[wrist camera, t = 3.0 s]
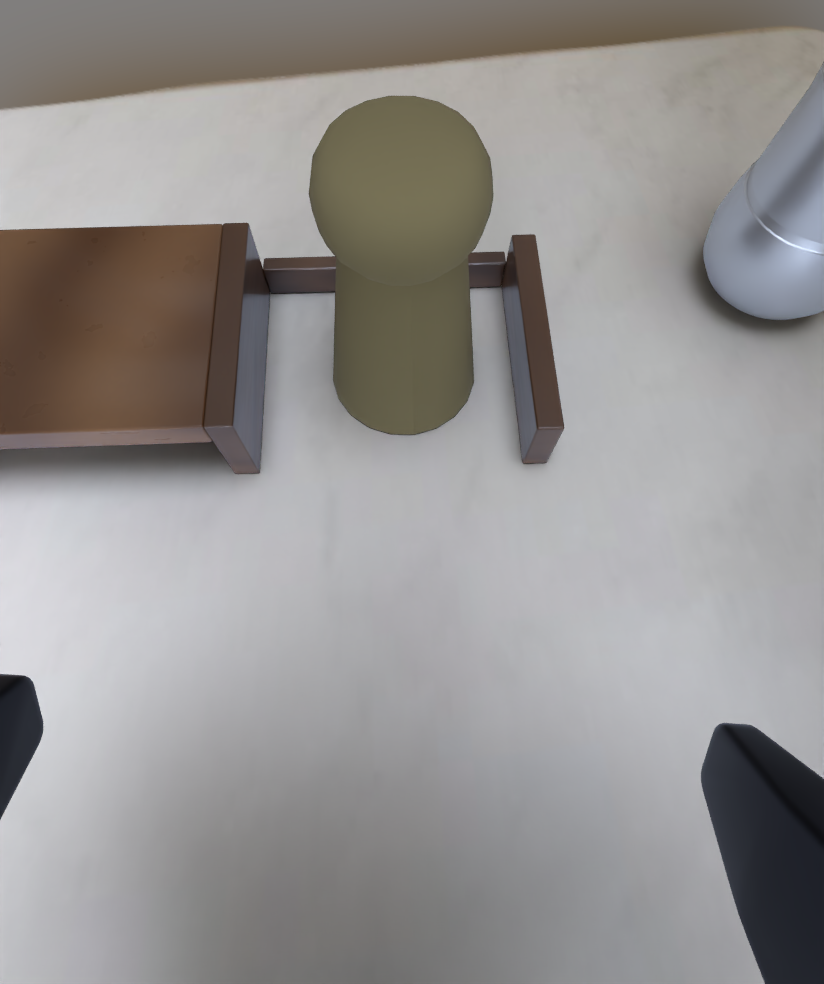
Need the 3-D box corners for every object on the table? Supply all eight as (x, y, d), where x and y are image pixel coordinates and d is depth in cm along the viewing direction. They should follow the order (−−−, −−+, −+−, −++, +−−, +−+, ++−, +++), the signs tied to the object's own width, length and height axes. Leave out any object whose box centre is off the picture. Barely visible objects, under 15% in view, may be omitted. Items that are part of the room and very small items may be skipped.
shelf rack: (521, 274, 28) (539, 203, 24) (547, 463, 24) (572, 414, 21) (5, 289, 27) (-59, 219, 24) (-46, 484, 24) (-130, 438, 20)
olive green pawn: (348, 305, 27) (313, 46, 17) (482, 324, 27) (528, 72, 17) (318, 422, 25) (256, 207, 15) (464, 445, 25) (503, 240, 14)
